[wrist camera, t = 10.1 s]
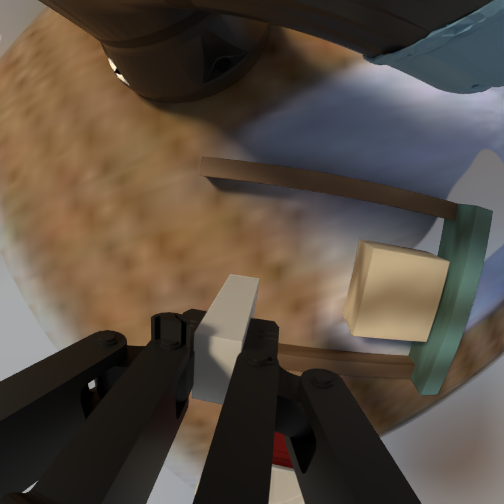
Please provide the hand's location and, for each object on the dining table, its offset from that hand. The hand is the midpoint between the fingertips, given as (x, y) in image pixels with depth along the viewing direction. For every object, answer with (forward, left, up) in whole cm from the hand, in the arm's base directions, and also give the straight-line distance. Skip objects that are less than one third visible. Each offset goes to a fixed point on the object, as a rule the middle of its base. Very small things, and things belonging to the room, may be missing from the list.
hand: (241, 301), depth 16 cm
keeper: (+1, +12, -11) cm, 16 cm away
